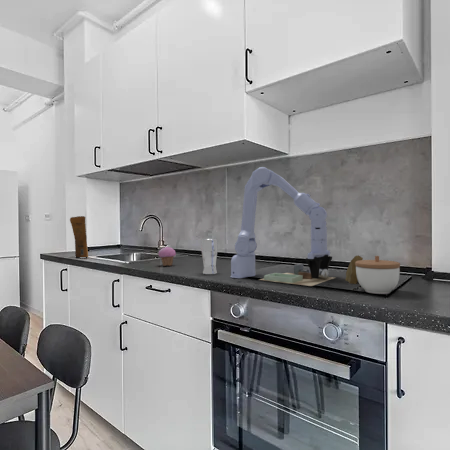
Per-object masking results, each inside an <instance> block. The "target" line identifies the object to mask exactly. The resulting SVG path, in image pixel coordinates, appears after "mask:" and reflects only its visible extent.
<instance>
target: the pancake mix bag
mask: <svg viewBox="0 0 450 450" xmlns="http://www.w3.org/2000/svg"><path fill="white" fill-rule="evenodd" d="M69 222H70V226H71V229H72V233H73V237H74V250H75V251H74V252H75V253H74V254H75V255H74V257H75V256H76V257H88V258H89V251H88V240H87V238H88V237H87V227H86V225H87V224H86V216H83V215H82V216H81V215H80V216H70V218H69Z"/></svg>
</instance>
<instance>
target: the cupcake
mask: <svg viewBox="0 0 450 450" xmlns="http://www.w3.org/2000/svg"><path fill="white" fill-rule="evenodd" d="M176 255H177V253H176V250H175V249H174V248H173V247H170V246H165V247H162V248H161V249H160V250H158V257H160V260H161V263H162V266H163V267H166V266H169V267H172V266H173V262H174V257H175V256H176Z"/></svg>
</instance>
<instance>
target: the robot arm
mask: <svg viewBox="0 0 450 450" xmlns="http://www.w3.org/2000/svg"><path fill="white" fill-rule="evenodd" d="M269 186H274V187H278V188H279V189H280V190H282V191H283V192H284V193H285V194H287V195H288V196H289V197H291V198H292V199H293V204H294V206H296V207H297V208H298V210H300V211H302V212H303V214H305V215H306V216H308V217H309V220H310V252H308V253H307V257H306V258H305V262H306V264H307V265H308V268H310V272H311V275H312V278H316V279H318V277H319V269H327V270H328V271H329V267H330V264H331V261H332V260H333V256H331V250H330V249H329V250H328V227H327V225H328V224H327V218H328V212H327V210H326V209H325V208H324V207H323V206H321V204H320V202H317V201H315V200H314V199H313V198H312V197H311V195H310V194H309V193H306V192H299V191H298V190H297V189H296V188H295V187H294V186H293V185H292V184H290V183H289V182H288V181H287V180H286V179H285V178H284V177H282V176H281V175H279V174H278V173H276V172H275V171H273V170H272V169H269V168H267V167H265V166H260V167H258V168H256V169H255V170H253V171H252V172H251V176H250V177H249V179H248V180H247V182H246V184H245V185H244V191H243V192H244V193H243V203H242V204H243V205H242V217H241V226H240V232H239V233H238V235H237V240H236V242H235V244H234V250H235V252H236V254H234V255H233V256H232V257H231V260H230V276H229V278H231V279H232V278H233V279H234V278H235V279H243V278H248V277H255V276H256V253H255V251H256V250H257V246H258V244H257V241H256V234H255V225H256V215H257V212H256V211H257V201H258V193H259V192H260V191H262V189H264V188H266V187H269Z"/></svg>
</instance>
